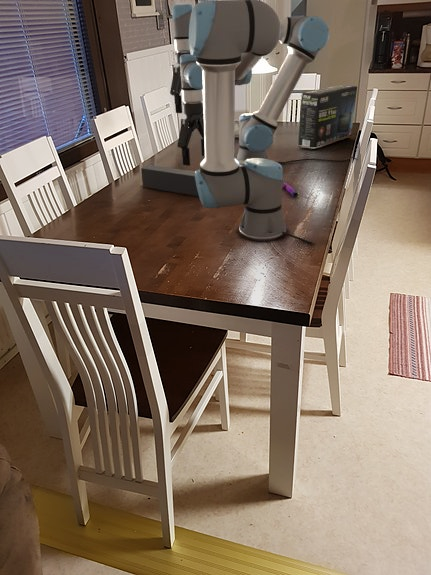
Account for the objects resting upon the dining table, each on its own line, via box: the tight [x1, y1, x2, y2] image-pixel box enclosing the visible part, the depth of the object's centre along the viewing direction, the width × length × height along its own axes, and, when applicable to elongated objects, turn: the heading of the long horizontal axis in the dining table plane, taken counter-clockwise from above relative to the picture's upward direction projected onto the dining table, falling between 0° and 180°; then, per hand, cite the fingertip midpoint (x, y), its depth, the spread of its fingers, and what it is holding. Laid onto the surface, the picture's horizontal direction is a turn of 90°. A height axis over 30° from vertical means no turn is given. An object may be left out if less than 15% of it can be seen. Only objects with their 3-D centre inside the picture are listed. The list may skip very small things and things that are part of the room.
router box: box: [297, 84, 358, 151], centre depth 238 cm, size 36×11×27 cm, turn 134°
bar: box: [140, 164, 199, 197], centre depth 187 cm, size 29×5×8 cm, turn 60°
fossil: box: [234, 122, 239, 140], centre depth 266 cm, size 18×11×15 cm
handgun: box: [282, 179, 299, 198], centre depth 183 cm, size 21×8×2 cm, turn 11°
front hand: (196, 160), depth 177 cm, fingers open, 13 cm apart
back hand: (188, 110), depth 187 cm, fingers open, 13 cm apart
